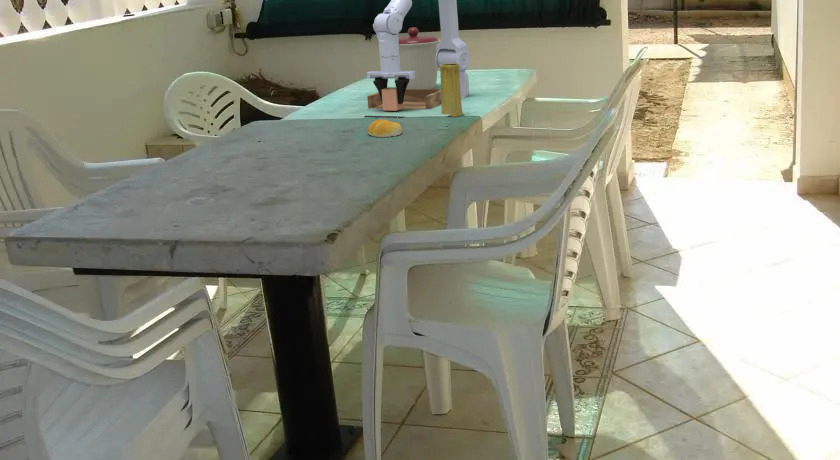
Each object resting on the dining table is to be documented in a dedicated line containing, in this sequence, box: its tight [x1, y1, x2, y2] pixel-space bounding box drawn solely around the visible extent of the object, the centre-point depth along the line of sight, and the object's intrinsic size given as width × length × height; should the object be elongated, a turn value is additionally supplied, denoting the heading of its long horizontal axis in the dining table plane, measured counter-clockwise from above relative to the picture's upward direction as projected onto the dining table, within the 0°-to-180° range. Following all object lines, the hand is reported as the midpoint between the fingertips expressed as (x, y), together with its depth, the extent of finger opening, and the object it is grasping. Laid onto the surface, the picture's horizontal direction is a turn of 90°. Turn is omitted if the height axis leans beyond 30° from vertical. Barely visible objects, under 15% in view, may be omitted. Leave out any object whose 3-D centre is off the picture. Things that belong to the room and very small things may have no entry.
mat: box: [364, 115, 405, 119], centre depth 257 cm, size 10×12×1 cm
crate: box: [366, 88, 442, 110], centre depth 267 cm, size 14×20×4 cm
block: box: [382, 86, 404, 112], centre depth 257 cm, size 4×4×6 cm
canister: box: [394, 27, 442, 89], centre depth 298 cm, size 18×18×21 cm
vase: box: [439, 63, 464, 118], centre depth 247 cm, size 6×6×14 cm
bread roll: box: [367, 118, 403, 138], centre depth 227 cm, size 8×9×4 cm
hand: (392, 103), depth 257 cm, fingers closed on block, 4 cm apart
